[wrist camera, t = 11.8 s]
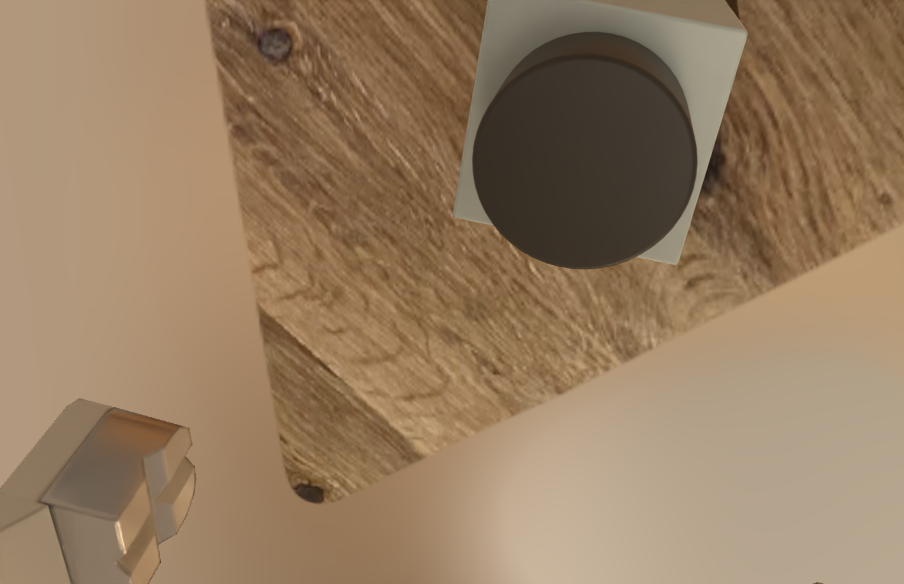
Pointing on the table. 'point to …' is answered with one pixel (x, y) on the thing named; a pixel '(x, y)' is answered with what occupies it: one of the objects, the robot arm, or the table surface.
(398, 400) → the table surface
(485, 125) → the vial
